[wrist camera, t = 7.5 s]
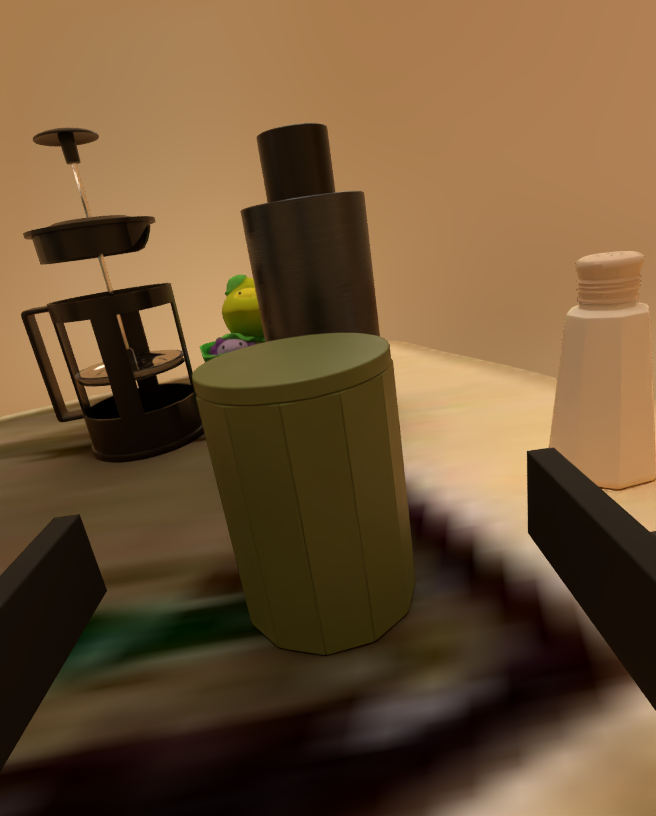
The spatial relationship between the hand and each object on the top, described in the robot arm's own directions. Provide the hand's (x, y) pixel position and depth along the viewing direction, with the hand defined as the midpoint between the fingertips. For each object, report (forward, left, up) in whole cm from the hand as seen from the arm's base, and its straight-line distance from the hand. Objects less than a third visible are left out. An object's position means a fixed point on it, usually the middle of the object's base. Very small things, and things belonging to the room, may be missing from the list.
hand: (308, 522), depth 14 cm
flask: (+5, +21, -6) cm, 23 cm away
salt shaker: (+17, +8, -6) cm, 20 cm away
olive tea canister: (+1, +4, -6) cm, 7 cm away
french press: (-10, +28, -6) cm, 31 cm away
